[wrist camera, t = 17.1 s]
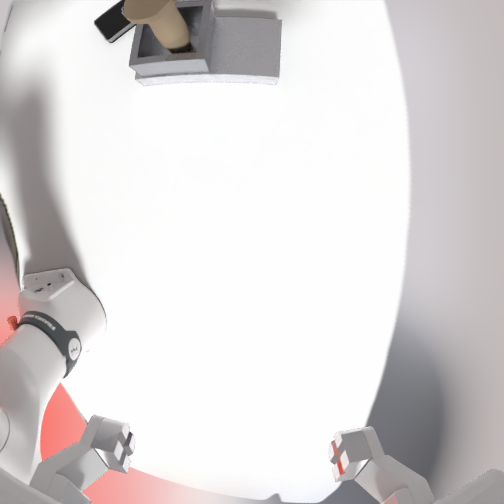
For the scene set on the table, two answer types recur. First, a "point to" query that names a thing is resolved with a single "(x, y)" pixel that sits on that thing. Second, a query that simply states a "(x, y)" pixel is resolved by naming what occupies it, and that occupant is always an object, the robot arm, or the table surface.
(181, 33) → the handle
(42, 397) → the robot arm
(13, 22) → the table surface
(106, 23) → the external hard drive
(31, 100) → the table surface
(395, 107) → the table surface
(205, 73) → the duct
